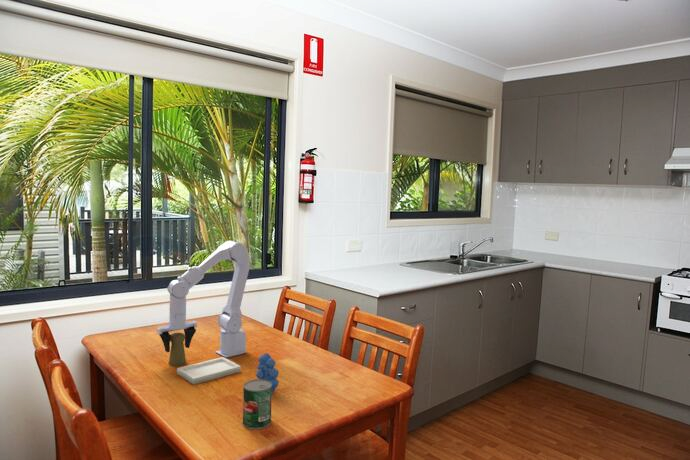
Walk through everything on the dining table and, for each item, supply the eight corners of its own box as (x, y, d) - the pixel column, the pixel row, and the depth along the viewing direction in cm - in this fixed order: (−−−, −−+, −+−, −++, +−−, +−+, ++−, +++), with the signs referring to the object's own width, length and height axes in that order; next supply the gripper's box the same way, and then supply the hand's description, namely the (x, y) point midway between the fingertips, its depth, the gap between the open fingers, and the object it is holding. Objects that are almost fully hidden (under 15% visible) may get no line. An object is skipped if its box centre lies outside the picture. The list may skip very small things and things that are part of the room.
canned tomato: (236, 425, 136) (237, 387, 135) (252, 413, 143) (252, 377, 142) (262, 431, 133) (262, 392, 132) (276, 419, 140) (277, 382, 139)
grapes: (247, 386, 162) (248, 351, 161) (266, 382, 166) (266, 348, 165) (263, 400, 152) (264, 362, 151) (282, 395, 156) (283, 358, 155)
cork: (180, 366, 178) (180, 336, 177) (165, 364, 179) (165, 335, 178) (189, 360, 184) (189, 331, 183) (174, 359, 185) (174, 330, 184)
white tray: (223, 362, 183) (223, 357, 183) (240, 371, 175) (240, 366, 174) (177, 373, 171) (177, 368, 170) (193, 384, 162) (193, 378, 162)
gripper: (191, 308, 187) (190, 342, 189) (153, 313, 177) (153, 350, 178) (200, 311, 182) (199, 347, 184) (162, 318, 172) (161, 355, 173)
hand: (177, 349), depth 181 cm, fingers open, 7 cm apart
